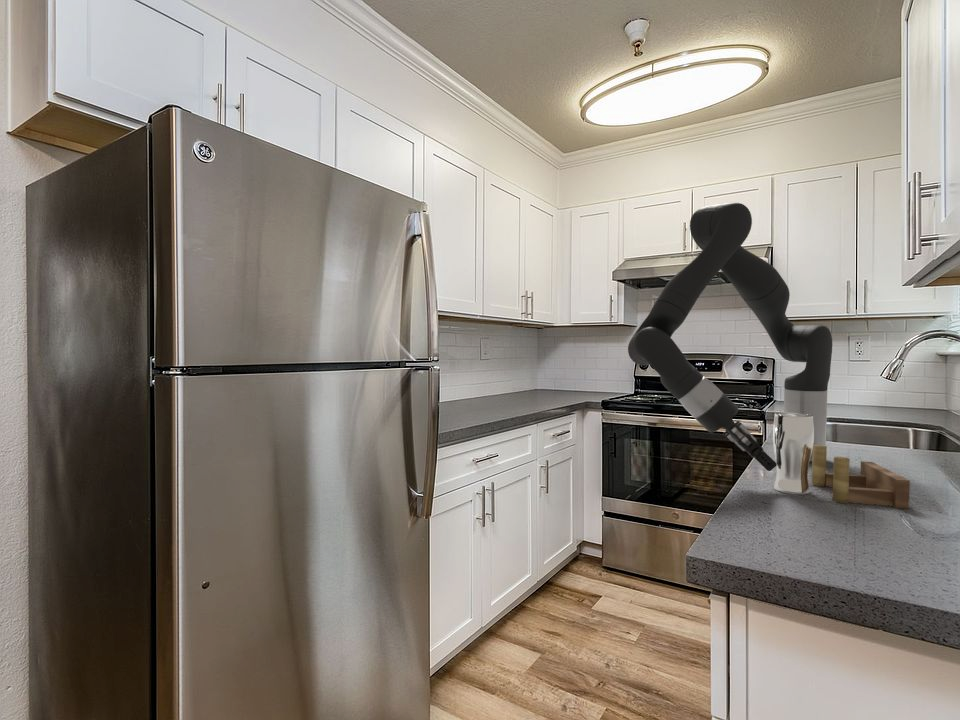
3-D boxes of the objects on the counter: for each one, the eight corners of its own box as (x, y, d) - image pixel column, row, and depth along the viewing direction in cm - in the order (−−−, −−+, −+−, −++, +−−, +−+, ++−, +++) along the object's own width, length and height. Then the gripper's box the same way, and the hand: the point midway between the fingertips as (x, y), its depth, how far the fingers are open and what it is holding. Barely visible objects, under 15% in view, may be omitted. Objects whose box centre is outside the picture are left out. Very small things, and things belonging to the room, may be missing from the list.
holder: (809, 482, 113) (810, 444, 113) (871, 486, 110) (872, 447, 110) (836, 503, 98) (837, 459, 98) (908, 508, 96) (910, 463, 95)
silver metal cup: (772, 483, 112) (774, 411, 111) (812, 488, 108) (814, 413, 108) (770, 491, 106) (772, 415, 105) (812, 497, 102) (814, 417, 102)
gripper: (727, 394, 103) (797, 462, 101) (716, 388, 116) (778, 448, 113) (697, 421, 105) (765, 488, 102) (689, 412, 118) (750, 472, 115)
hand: (772, 467), depth 108 cm, fingers closed
